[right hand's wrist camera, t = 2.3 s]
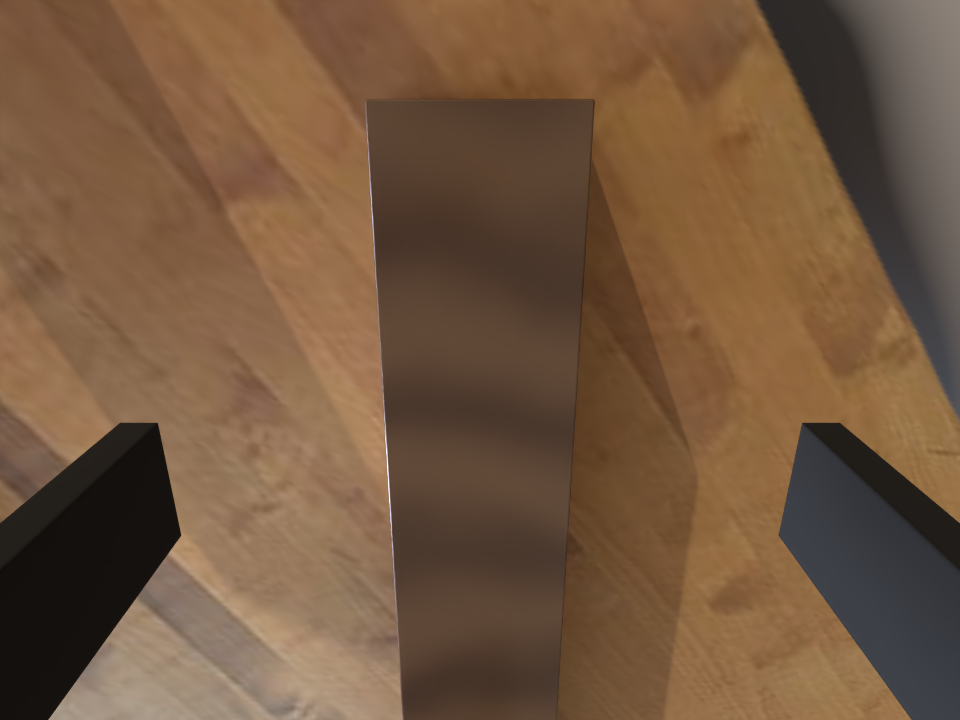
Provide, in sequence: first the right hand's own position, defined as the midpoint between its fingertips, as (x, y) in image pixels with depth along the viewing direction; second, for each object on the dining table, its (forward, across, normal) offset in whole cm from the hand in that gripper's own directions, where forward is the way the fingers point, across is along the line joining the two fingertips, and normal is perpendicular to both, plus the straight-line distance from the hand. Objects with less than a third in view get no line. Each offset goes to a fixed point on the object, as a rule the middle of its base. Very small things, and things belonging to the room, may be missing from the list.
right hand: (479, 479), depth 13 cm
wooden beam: (+26, 0, -27) cm, 37 cm away
